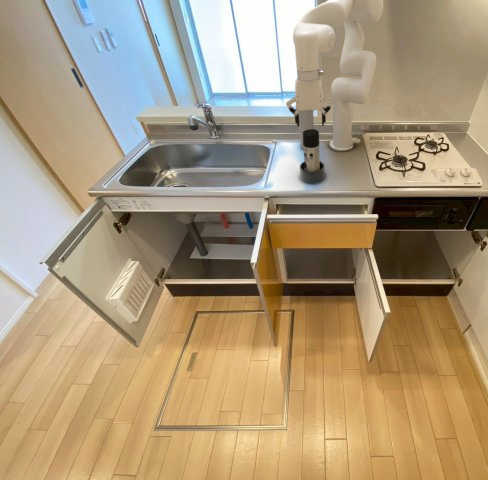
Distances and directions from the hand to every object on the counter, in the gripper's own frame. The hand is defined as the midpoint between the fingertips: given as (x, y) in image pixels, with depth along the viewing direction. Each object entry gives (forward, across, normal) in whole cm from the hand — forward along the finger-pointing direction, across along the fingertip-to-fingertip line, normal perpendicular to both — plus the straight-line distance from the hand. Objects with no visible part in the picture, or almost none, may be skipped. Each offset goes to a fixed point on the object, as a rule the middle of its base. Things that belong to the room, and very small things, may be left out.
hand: (310, 124), depth 103 cm
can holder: (+24, 0, +1) cm, 24 cm away
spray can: (+23, 0, +1) cm, 23 cm away
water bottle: (+24, +3, -28) cm, 37 cm away
